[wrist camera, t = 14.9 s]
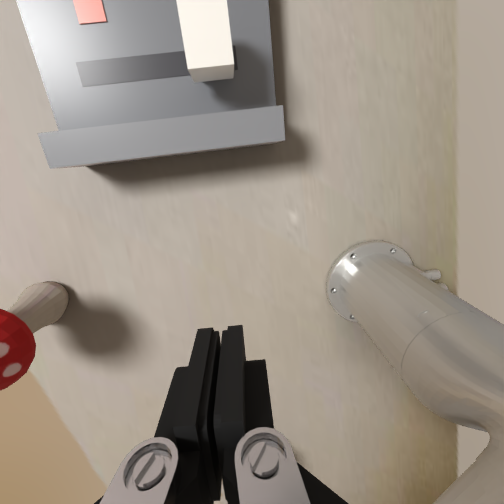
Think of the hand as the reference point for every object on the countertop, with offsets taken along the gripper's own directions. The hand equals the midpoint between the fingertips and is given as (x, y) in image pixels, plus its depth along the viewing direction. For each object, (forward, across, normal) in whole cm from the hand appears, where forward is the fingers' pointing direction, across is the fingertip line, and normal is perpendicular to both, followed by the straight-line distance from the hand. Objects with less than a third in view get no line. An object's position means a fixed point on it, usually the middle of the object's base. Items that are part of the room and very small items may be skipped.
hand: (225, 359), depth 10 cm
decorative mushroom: (+25, +26, +8) cm, 37 cm away
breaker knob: (+22, +1, -17) cm, 27 cm away
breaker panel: (+25, +6, -16) cm, 30 cm away
